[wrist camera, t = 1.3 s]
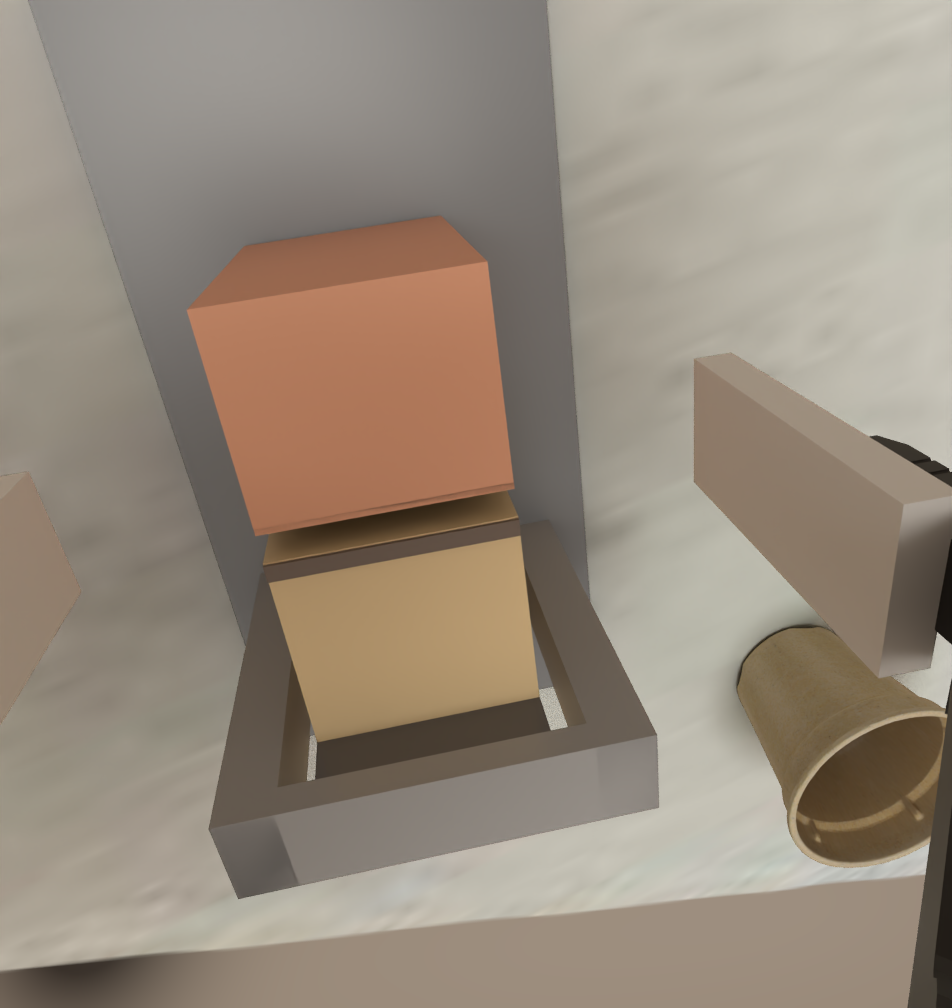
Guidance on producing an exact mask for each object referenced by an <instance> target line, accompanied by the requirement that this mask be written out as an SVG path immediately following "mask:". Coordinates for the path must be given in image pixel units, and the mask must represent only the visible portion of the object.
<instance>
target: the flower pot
mask: <svg viewBox="0 0 952 1008" xmlns="http://www.w3.org/2000/svg"><path fill="white" fill-rule="evenodd" d="M737 691H738V696H739V699H740V701H741V703H742V705H743V707H744V709H745V711H746V713H747V715H748V717H749V719H750V722H751V724H752V726H753V728H754V730H755V732H756V734H757V736H758V738H759V740H760V742H761V745H762V747H763V749H764V751H765V753H766V755H767V757H768V760H769V762H770V764H771V766H772V768H773V770H774V772H775V775H776V777H777V779H778V781H779V783H780V785H781V787H782V796H783V801H784V805H785V807H786V809H787V823H788V828H789V832H790V834H791V837H792V839H793V841H794V842H795V844H796V845H797V847H798V848H799V849H800V850H801V851H802V853H804V854H805V855H807V856H808V857H810V858H811V859H813V860H815V861H817V862H819V863H822V864H825V865H829V866H834V867H844V868H849V867H850V868H853V867H867V866H871V865H877V864H882V863H886V862H889V861H891V860H895V859H898V858H900V857H903V856H906V855H908V854H910V853H912V852H913V851H916V850H918V849H919V848H921V847H924V846H926V845H927V844H928V843H930V839H931V832H932V824H933V817H934V810H935V802H936V795H937V788H938V780H939V773H940V766H941V758H942V751H943V744H944V736H945V729H946V722H947V714H945V710H946V709H945V708H942V707H940V706H939V705H938V704H936V703H934V702H932V701H930V700H928V699H925V698H922V697H919V696H917V695H916V694H915V693H913V692H912V691H910V690H909V689H908V688H906V687H905V686H904V685H902V684H901V683H899V682H898V681H897V680H895V679H894V678H893V677H891V676H888V677H883V678H878V677H877V676H876V675H875V674H874V673H873V672H872V671H871V670H870V669H869V668H868V667H867V666H866V665H865V664H864V663H863V661H862V660H861V659H860V658H859V657H858V656H857V655H856V654H855V653H854V652H853V651H852V650H851V649H850V648H849V647H848V645H847V644H846V643H845V642H844V641H843V640H842V639H841V638H839V637H838V636H837V635H836V634H834V633H833V632H831V631H829V630H827V629H824V628H821V627H815V628H790V629H787V630H784V631H781V632H779V633H777V634H775V635H773V636H771V637H769V638H768V639H767V640H765V641H764V642H762V643H761V644H760V645H759V646H758V647H757V648H755V649H754V651H753V652H752V653H751V654H750V655H749V656H748V658H747V659H746V660H745V662H744V663H743V667H742V674H741V678H740V682H739V685H738V687H737Z"/></svg>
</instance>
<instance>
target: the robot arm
mask: <svg viewBox="0 0 952 1008" xmlns="http://www.w3.org/2000/svg"><path fill="white" fill-rule="evenodd" d="M694 482H695V483H696V484H697V485H698V486H699V488H700V489H701V490H702V491H703V492H704V493H705V494H706V495H707V496H708V497H709V498H710V499H711V500H712V501H713V502H714V504H715V505H716V506H717V507H718V508H719V509H720V510H721V511H722V512H723V513H724V514H725V515H726V516H727V517H728V518H729V520H730V521H731V522H732V523H733V524H734V525H735V526H736V527H737V528H738V529H739V530H740V531H741V532H742V533H743V534H744V536H745V537H746V538H747V539H748V540H749V541H750V542H751V543H752V544H753V545H754V546H755V547H756V548H757V549H758V550H759V552H760V553H761V554H762V555H763V556H764V557H765V558H766V559H767V560H768V561H769V562H770V563H771V564H772V565H773V567H774V568H775V569H776V570H777V571H778V572H779V573H780V574H781V575H782V576H783V577H784V578H785V579H786V580H787V581H788V583H789V584H790V585H791V586H792V587H793V588H794V589H795V590H796V591H797V592H798V593H799V594H800V595H801V596H802V597H803V599H804V600H805V601H806V602H807V603H808V604H809V605H810V606H811V607H812V608H813V609H814V610H815V611H816V612H817V613H818V615H819V616H820V617H821V618H822V619H823V620H824V621H825V622H826V623H827V624H828V625H829V626H830V627H831V628H832V629H833V631H834V632H835V633H836V634H837V635H838V636H839V637H840V638H841V639H842V640H843V641H844V642H845V643H846V644H847V645H848V647H849V648H850V649H851V650H852V651H853V652H854V653H855V654H856V655H857V656H858V657H859V658H860V659H861V660H862V661H863V663H864V664H865V665H866V666H867V667H868V668H869V669H870V670H871V671H872V672H873V673H874V674H875V675H876V676H877V677H878V678H883V677H888V676H893V675H898V674H903V673H908V672H914V671H919V670H924V669H929V668H930V667H931V662H932V656H933V651H934V646H935V640H936V635H937V632H938V633H939V634H940V635H941V636H943V637H944V638H945V639H946V640H947V641H948V642H949V643H951V644H952V472H950V471H949V468H947V467H945V466H944V465H942V464H940V463H938V462H937V461H931V459H930V457H928V456H926V455H925V454H923V453H921V452H919V451H918V450H916V449H914V448H913V447H911V446H909V445H907V444H904V443H900V442H897V441H894V440H890V439H887V438H883V437H880V436H877V435H876V436H870V437H869V436H867V435H865V434H864V433H862V432H860V431H859V430H857V429H855V428H854V427H852V426H851V425H849V424H847V423H846V422H844V421H842V420H841V419H839V418H837V417H836V416H834V415H832V414H831V413H829V412H828V411H826V410H824V409H823V408H821V407H819V406H818V405H816V404H814V403H813V402H811V401H810V400H808V399H806V398H805V397H803V396H801V395H800V394H798V393H796V392H795V391H793V390H791V389H790V388H788V387H787V386H785V385H783V384H782V383H780V382H778V381H777V380H775V379H773V378H772V377H770V376H769V375H767V374H765V373H764V372H762V371H760V370H759V369H757V368H755V367H754V366H752V365H750V364H749V363H747V362H746V361H744V360H742V359H741V358H739V357H737V356H736V355H734V354H732V353H726V354H720V355H714V356H708V357H702V358H696V359H694ZM80 593H81V589H80V587H79V585H78V583H77V580H76V578H75V576H74V574H73V571H72V569H71V567H70V564H69V562H68V560H67V558H66V555H65V553H64V551H63V549H62V546H61V544H60V542H59V540H58V537H57V535H56V533H55V531H54V528H53V526H52V524H51V521H50V519H49V517H48V515H47V512H46V510H45V508H44V506H43V503H42V501H41V499H40V497H39V494H38V492H37V490H36V488H35V485H34V483H33V481H32V479H31V476H30V474H29V472H23V473H17V474H11V475H5V476H0V725H1V723H2V722H3V720H4V719H5V717H6V715H7V714H8V712H9V710H10V709H11V707H12V705H13V704H14V702H15V700H16V699H17V697H18V695H19V694H20V692H21V690H22V689H23V687H24V685H25V684H26V682H27V681H28V679H29V677H30V676H31V674H32V672H33V671H34V669H35V667H36V666H37V664H38V662H39V661H40V659H41V657H42V656H43V654H44V652H45V651H46V649H47V648H48V646H49V644H50V643H51V641H52V639H53V638H54V636H55V634H56V633H57V631H58V629H59V628H60V626H61V624H62V623H63V621H64V619H65V618H66V616H67V615H68V613H69V611H70V610H71V608H72V606H73V605H74V603H75V601H76V600H77V598H78V596H79V595H80ZM945 714H947V722H946V729H945V736H944V744H943V751H942V758H941V766H940V773H939V780H938V788H937V795H936V802H935V810H934V817H933V824H932V832H931V839H930V846H929V854H928V861H927V868H926V876H925V883H924V891H923V898H922V905H921V912H920V920H919V927H918V934H917V942H916V949H915V956H914V964H913V971H912V978H911V986H910V993H909V1000H908V1008H952V680H951V685H950V690H949V695H948V700H947V705H946V710H945Z"/></svg>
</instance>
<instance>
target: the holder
mask: <svg viewBox="0 0 952 1008" xmlns="http://www.w3.org/2000/svg"><path fill="white" fill-rule="evenodd" d="M28 2H29V5H30V8H31V11H32V14H33V17H34V20H35V23H36V26H37V28H38V31H39V34H40V37H41V40H42V43H43V46H44V49H45V52H46V55H47V58H48V61H49V64H50V67H51V70H52V73H53V76H54V79H55V82H56V85H57V88H58V91H59V94H60V97H61V100H62V103H63V106H64V109H65V112H66V115H67V118H68V120H69V123H70V126H71V129H72V132H73V135H74V138H75V141H76V144H77V147H78V150H79V153H80V156H81V159H82V162H83V165H84V168H85V171H86V174H87V177H88V180H89V183H90V186H91V189H92V192H93V195H94V198H95V201H96V204H97V207H98V210H99V212H100V215H101V218H102V221H103V224H104V227H105V230H106V233H107V236H108V239H109V242H110V245H111V248H112V251H113V254H114V257H115V260H116V263H117V266H118V269H119V272H120V275H121V278H122V281H123V284H124V287H125V290H126V293H127V296H128V299H129V302H130V304H131V307H132V310H133V313H134V316H135V319H136V322H137V325H138V328H139V331H140V334H141V337H142V340H143V343H144V346H145V349H146V352H147V355H148V358H149V361H150V364H151V367H152V370H153V373H154V376H155V379H156V382H157V385H158V388H159V391H160V394H161V396H162V399H163V402H164V405H165V408H166V411H167V414H168V417H169V420H170V423H171V426H172V429H173V432H174V435H175V438H176V441H177V444H178V447H179V450H180V453H181V456H182V459H183V462H184V465H185V468H186V471H187V474H188V477H189V480H190V483H191V486H192V488H193V491H194V494H195V497H196V500H197V503H198V506H199V509H200V512H201V515H202V518H203V521H204V524H205V527H206V530H207V533H208V536H209V539H210V542H211V545H212V548H213V551H214V554H215V557H216V560H217V563H218V566H219V569H220V572H221V575H222V578H223V580H224V583H225V586H226V589H227V592H228V595H229V598H230V601H231V604H232V607H233V610H234V613H235V616H236V619H237V622H238V625H239V628H240V631H241V634H242V637H243V640H244V643H245V646H246V648H245V653H244V658H243V663H242V667H241V672H240V677H239V682H238V687H237V692H236V697H235V702H234V707H233V712H232V717H231V722H230V727H229V731H228V736H227V741H226V746H225V751H224V756H223V761H222V766H221V771H220V776H219V781H218V786H217V791H216V795H215V800H214V805H213V810H212V815H211V820H210V825H209V831H210V833H211V836H212V838H213V840H214V843H215V845H216V848H217V850H218V852H219V855H220V857H221V859H222V862H223V864H224V866H225V869H226V871H227V873H228V876H229V878H230V881H231V883H232V885H233V888H234V890H235V892H236V895H237V897H238V899H241V898H245V897H250V896H255V895H259V894H264V893H268V892H273V891H278V890H282V889H287V888H291V887H296V886H301V885H305V884H310V883H314V882H319V881H324V880H328V879H333V878H337V877H342V876H347V875H351V874H356V873H360V872H365V871H370V870H374V869H379V868H383V867H388V866H393V865H397V864H402V863H406V862H411V861H416V860H420V859H425V858H429V857H434V856H439V855H443V854H448V853H452V852H457V851H462V850H466V849H471V848H475V847H480V846H485V845H489V844H494V843H499V842H503V841H508V840H512V839H517V838H522V837H526V836H531V835H535V834H540V833H545V832H549V831H554V830H558V829H563V828H568V827H572V826H577V825H581V824H586V823H591V822H595V821H600V820H604V819H609V818H614V817H618V816H623V815H627V814H632V813H637V812H641V811H646V810H650V809H655V808H659V788H658V749H657V734H656V732H655V730H654V728H653V726H652V724H651V722H650V720H649V718H648V716H647V714H646V712H645V710H644V708H643V706H642V704H641V702H640V700H639V698H638V696H637V694H636V692H635V690H634V688H633V686H632V684H631V682H630V680H629V678H628V676H627V674H626V672H625V670H624V668H623V666H622V664H621V662H620V660H619V658H618V656H617V654H616V652H615V650H614V648H613V646H612V644H611V642H610V640H609V638H608V636H607V634H606V632H605V630H604V628H603V626H602V624H601V622H600V620H599V618H598V616H597V615H596V613H595V611H594V609H593V607H592V605H591V603H590V594H589V581H588V567H587V553H586V539H585V526H584V512H583V498H582V484H581V471H580V457H579V443H578V429H577V415H576V402H575V388H574V374H573V360H572V347H571V333H570V319H569V305H568V292H567V278H566V264H565V250H564V237H563V223H562V209H561V195H560V182H559V168H558V154H557V140H556V127H555V113H554V99H553V85H552V72H551V58H550V44H549V30H548V17H547V3H546V0H28ZM440 215H441V216H442V217H443V218H444V219H445V220H446V221H447V222H448V223H449V224H450V225H451V226H452V227H453V228H454V229H455V230H456V231H457V232H458V233H459V234H460V235H461V236H462V237H463V238H464V239H465V240H466V241H467V242H468V243H469V244H470V245H471V246H472V247H473V248H474V249H475V250H476V251H477V252H478V253H479V254H480V255H481V256H482V257H483V258H484V259H486V260H487V262H488V270H489V278H490V287H491V295H492V304H493V312H494V321H495V329H496V338H497V346H498V354H499V363H500V371H501V380H502V388H503V397H504V405H505V414H506V422H507V430H508V439H509V447H510V456H511V464H512V473H513V481H514V489H511V490H505V491H500V492H494V493H489V494H483V495H478V496H473V497H467V498H462V499H456V500H451V501H445V502H440V503H434V504H429V505H423V506H418V507H413V508H407V509H402V510H396V511H391V512H385V513H380V514H374V515H369V516H363V517H358V518H353V519H347V520H342V521H336V522H331V523H325V524H320V525H314V526H309V527H303V528H298V529H293V530H287V531H282V532H276V533H271V534H265V535H260V536H255V533H254V530H253V527H252V523H251V520H250V517H249V514H248V510H247V507H246V504H245V500H244V497H243V494H242V490H241V487H240V484H239V481H238V477H237V474H236V471H235V467H234V464H233V461H232V458H231V454H230V451H229V448H228V444H227V441H226V438H225V435H224V431H223V428H222V425H221V421H220V418H219V415H218V412H217V408H216V405H215V402H214V398H213V395H212V392H211V389H210V385H209V382H208V379H207V375H206V372H205V369H204V366H203V362H202V359H201V356H200V352H199V349H198V346H197V343H196V339H195V336H194V333H193V329H192V326H191V323H190V319H189V316H188V313H187V309H188V308H189V307H190V306H191V304H192V303H193V302H194V301H195V300H196V299H197V298H198V297H199V296H200V294H201V293H202V292H203V291H204V290H205V289H206V288H207V287H208V286H209V284H210V283H211V282H212V281H213V280H214V279H215V278H216V277H217V276H218V275H219V273H220V272H221V271H222V270H223V269H224V268H225V267H226V266H227V265H228V263H229V262H230V261H231V260H232V259H233V258H234V257H235V256H236V255H237V253H238V252H239V251H240V250H241V249H242V248H243V247H244V246H248V245H254V244H261V243H267V242H273V241H280V240H286V239H293V238H299V237H306V236H312V235H318V234H325V233H331V232H338V231H344V230H351V229H357V228H363V227H370V226H376V225H383V224H389V223H395V222H402V221H408V220H415V219H421V218H428V217H434V216H440ZM553 686H554V689H555V692H556V695H557V697H558V700H559V703H560V706H561V708H562V711H563V714H564V717H565V720H566V722H567V725H568V727H566V728H562V729H557V730H552V731H551V730H550V727H549V724H548V721H547V718H546V715H545V712H544V709H543V706H542V703H541V700H540V697H539V689H544V688H548V687H553ZM312 735H315V737H316V740H317V756H316V774H315V780H311V781H307V769H308V755H309V740H310V736H312Z"/></svg>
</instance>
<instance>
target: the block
mask: <svg viewBox="0 0 952 1008" xmlns="http://www.w3.org/2000/svg"><path fill="white" fill-rule="evenodd" d="M187 313H188V316H189V319H190V323H191V326H192V329H193V333H194V336H195V339H196V343H197V346H198V349H199V352H200V356H201V359H202V362H203V366H204V369H205V372H206V375H207V379H208V382H209V385H210V389H211V392H212V395H213V398H214V402H215V405H216V408H217V412H218V415H219V418H220V421H221V425H222V428H223V431H224V435H225V438H226V441H227V444H228V448H229V451H230V454H231V458H232V461H233V464H234V467H235V471H236V474H237V477H238V481H239V484H240V487H241V490H242V494H243V497H244V500H245V504H246V507H247V510H248V514H249V517H250V520H251V523H252V527H253V530H254V533H255V536H260V535H265V534H271V533H276V532H282V531H287V530H293V529H298V528H303V527H309V526H314V525H320V524H325V523H331V522H336V521H342V520H347V519H353V518H358V517H363V516H369V515H374V514H380V513H385V512H391V511H396V510H402V509H407V508H413V507H418V506H423V505H429V504H434V503H440V502H445V501H451V500H456V499H462V498H467V497H473V496H478V495H483V494H489V493H494V492H500V491H505V490H511V489H514V481H513V473H512V464H511V456H510V447H509V439H508V430H507V422H506V414H505V405H504V397H503V388H502V380H501V371H500V363H499V354H498V346H497V338H496V329H495V321H494V312H493V304H492V295H491V287H490V278H489V270H488V262H487V260H486V259H484V258H483V257H482V256H481V255H480V254H479V253H478V252H477V251H476V250H475V249H474V248H473V247H472V246H471V245H470V244H469V243H468V242H467V241H466V240H465V239H464V238H463V237H462V236H461V235H460V234H459V233H458V232H457V231H456V230H455V229H454V228H453V227H452V226H451V225H450V224H449V223H448V222H447V221H446V220H445V219H444V218H443V217H442V216H441V215H440V216H434V217H428V218H421V219H415V220H408V221H402V222H395V223H389V224H383V225H376V226H370V227H363V228H357V229H351V230H344V231H338V232H331V233H325V234H318V235H312V236H306V237H299V238H293V239H286V240H280V241H273V242H267V243H261V244H254V245H248V246H244V247H243V248H242V249H241V250H240V251H239V252H238V253H237V255H236V256H235V257H234V258H233V259H232V260H231V261H230V262H229V263H228V265H227V266H226V267H225V268H224V269H223V270H222V271H221V272H220V273H219V275H218V276H217V277H216V278H215V279H214V280H213V281H212V282H211V283H210V284H209V286H208V287H207V288H206V289H205V290H204V291H203V292H202V293H201V294H200V296H199V297H198V298H197V299H196V300H195V301H194V302H193V303H192V304H191V306H190V307H189V308H188V309H187Z"/></svg>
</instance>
